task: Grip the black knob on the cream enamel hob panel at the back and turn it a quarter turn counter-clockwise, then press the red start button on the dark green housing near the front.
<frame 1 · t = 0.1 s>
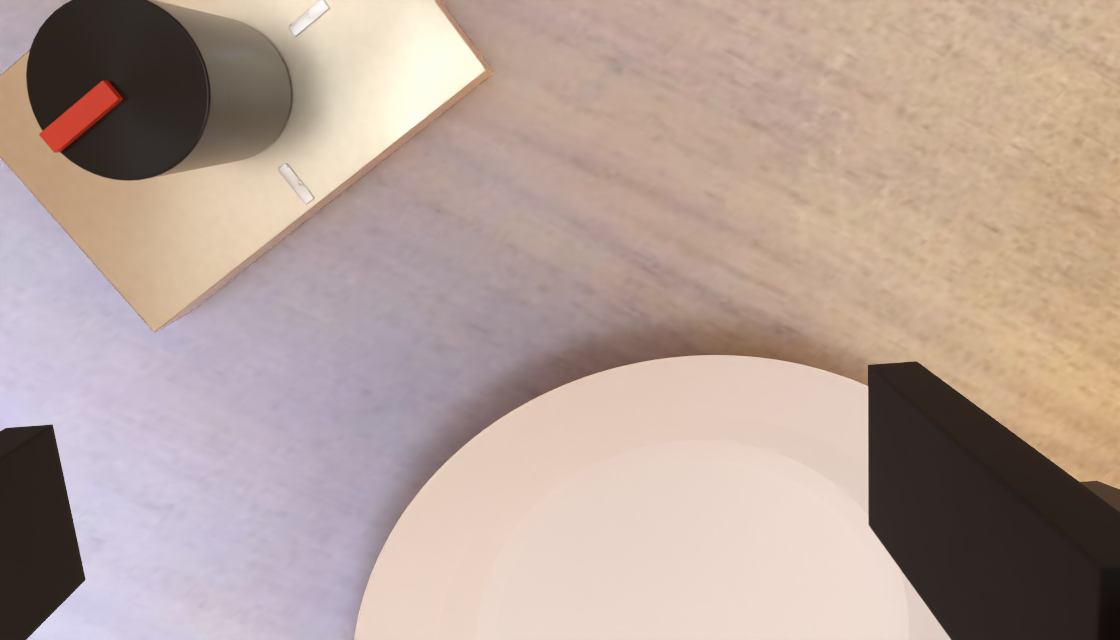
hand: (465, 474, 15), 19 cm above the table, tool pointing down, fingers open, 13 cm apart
hob knob: (174, 89, 26), point 7 cm above the table, hinge at 0.0°
white plate: (688, 634, 37), on the table
hob panel: (252, 91, 32), on the table
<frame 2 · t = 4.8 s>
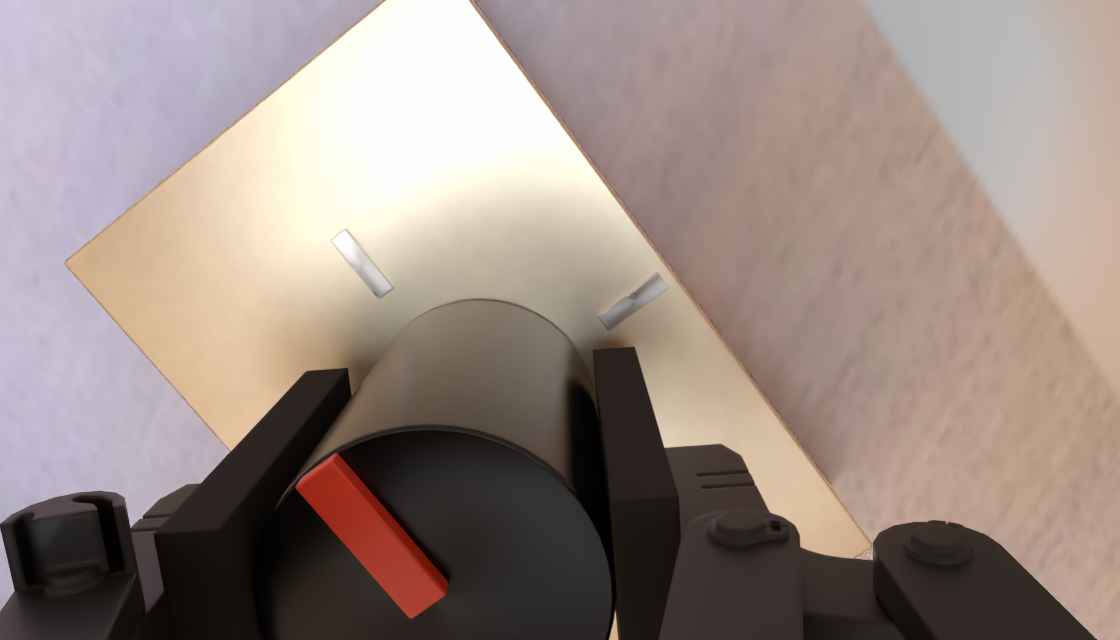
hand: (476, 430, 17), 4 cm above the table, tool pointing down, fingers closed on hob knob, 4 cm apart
hob knob: (462, 486, 15), point 7 cm above the table, hinge at 0.0°, touching gripper
hob panel: (493, 366, 21), on the table
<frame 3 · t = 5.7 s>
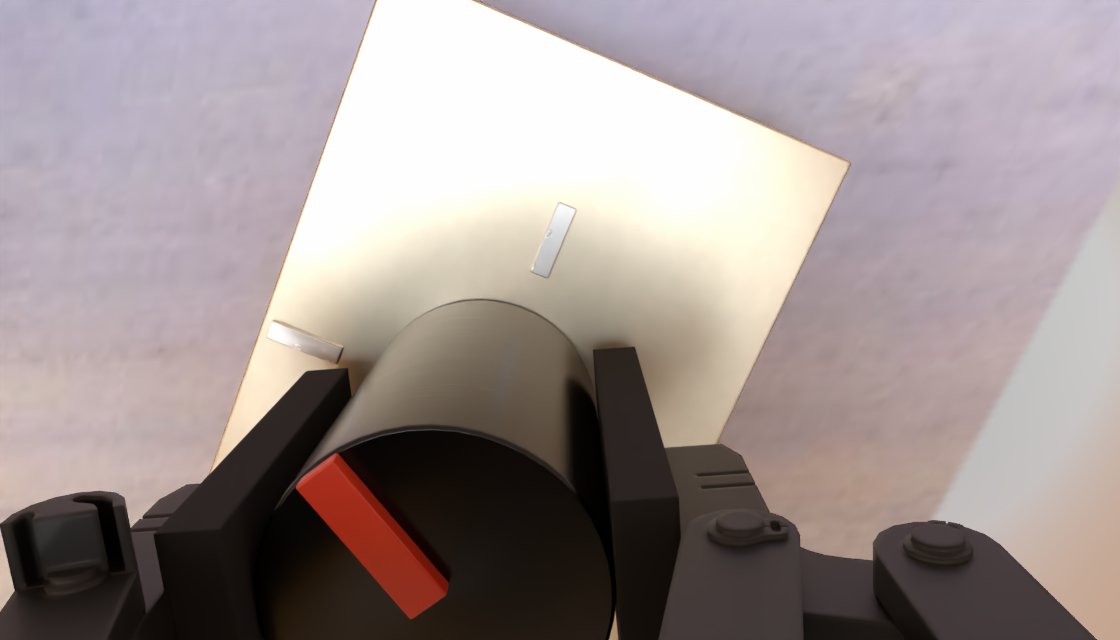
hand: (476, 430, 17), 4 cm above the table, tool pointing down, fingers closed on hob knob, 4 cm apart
hob knob: (462, 486, 15), point 7 cm above the table, hinge at 59.4°, touching gripper
hob panel: (493, 366, 21), on the table
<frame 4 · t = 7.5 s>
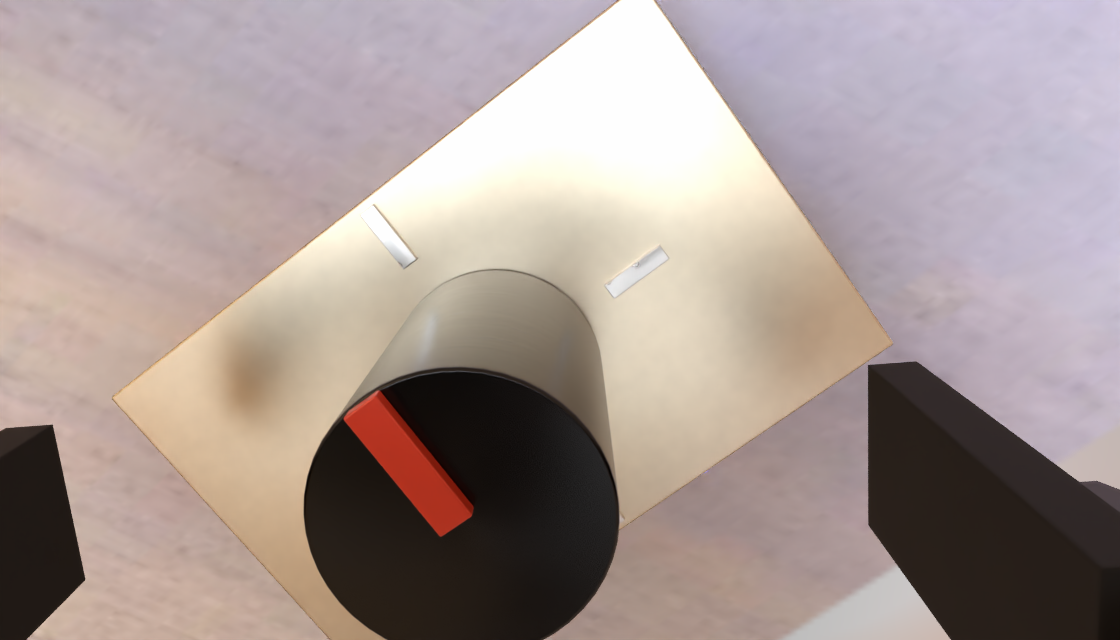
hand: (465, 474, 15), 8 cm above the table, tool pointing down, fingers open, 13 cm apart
hob knob: (482, 433, 16), point 7 cm above the table, hinge at 89.0°
hob panel: (507, 335, 23), on the table
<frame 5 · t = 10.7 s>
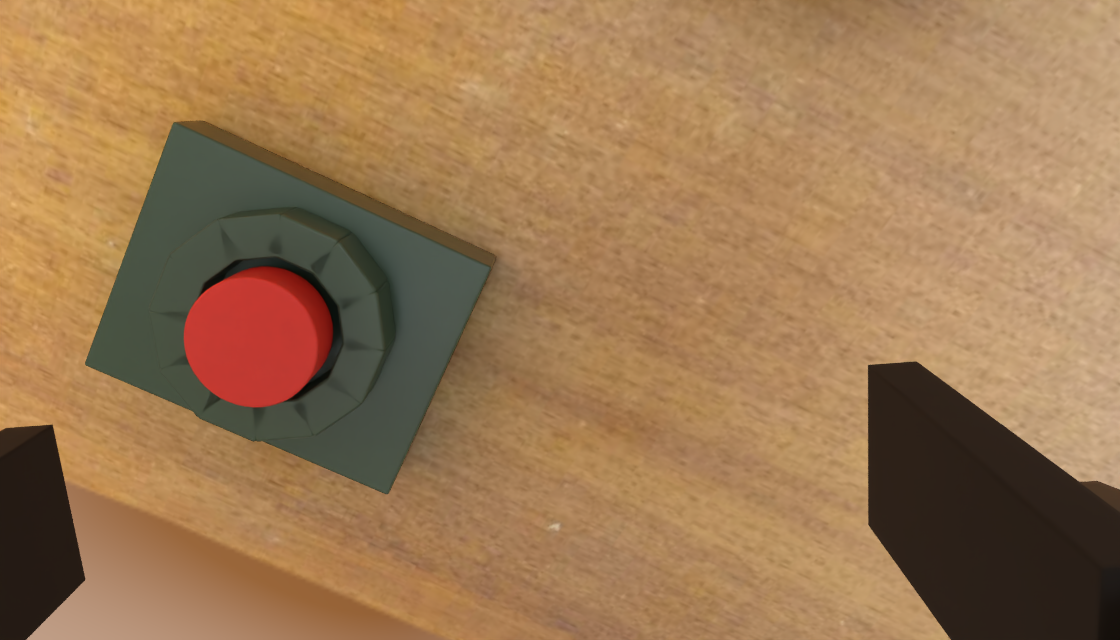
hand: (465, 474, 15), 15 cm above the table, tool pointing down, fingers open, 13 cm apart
button box: (304, 301, 30), on the table
start button: (260, 335, 26), point 5 cm above the table, slide at 0.2 cm
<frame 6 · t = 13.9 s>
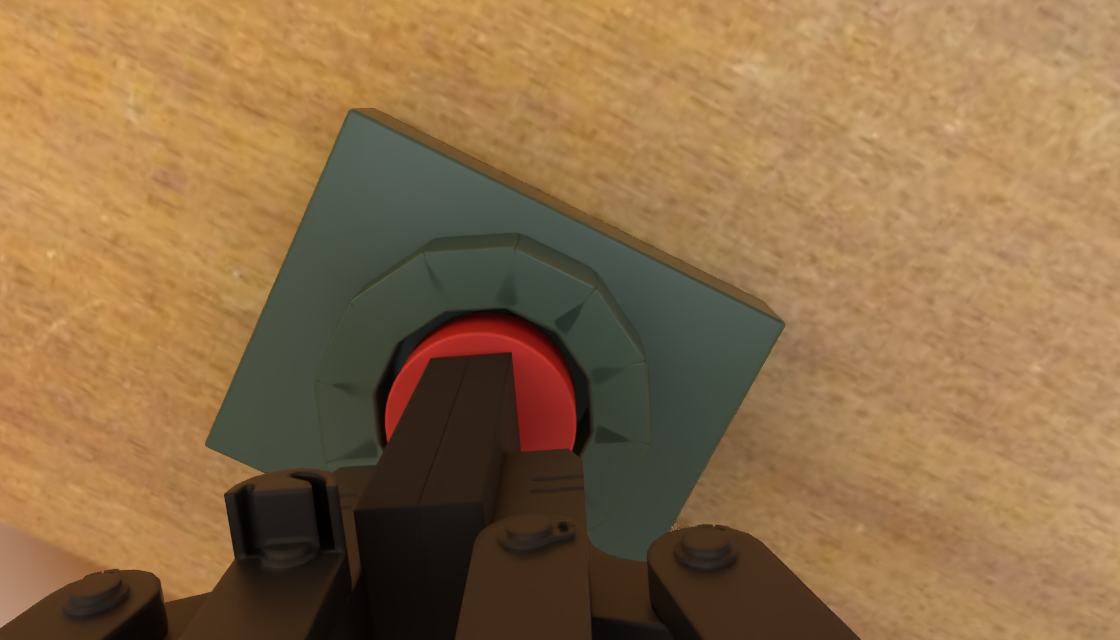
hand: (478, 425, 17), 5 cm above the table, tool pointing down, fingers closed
button box: (497, 358, 22), on the table
start button: (484, 410, 18), point 4 cm above the table, slide at -0.6 cm, touching gripper
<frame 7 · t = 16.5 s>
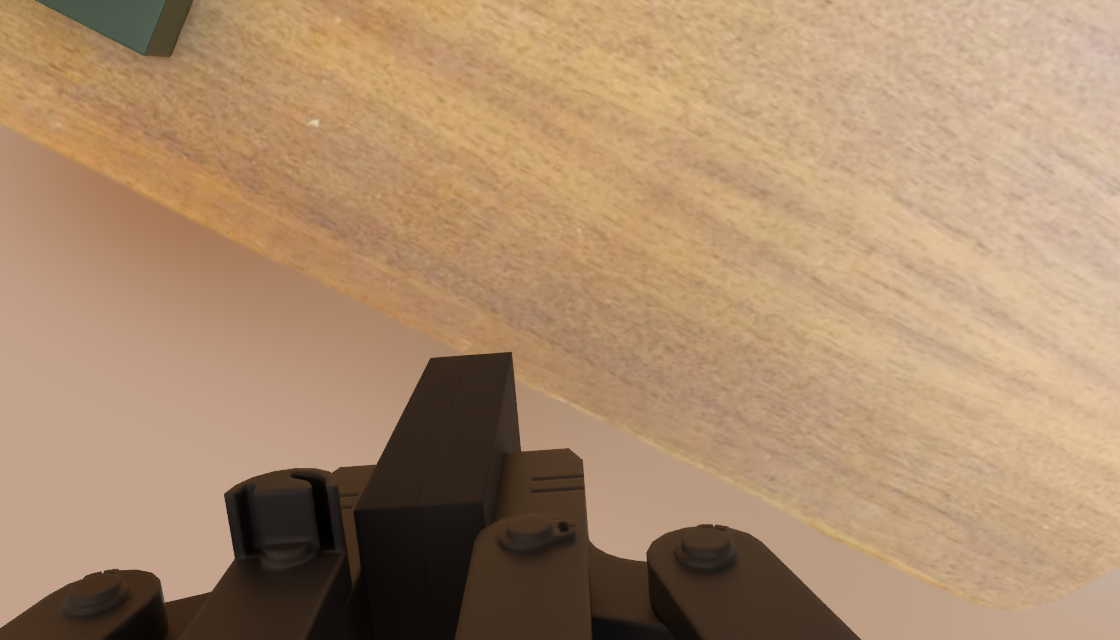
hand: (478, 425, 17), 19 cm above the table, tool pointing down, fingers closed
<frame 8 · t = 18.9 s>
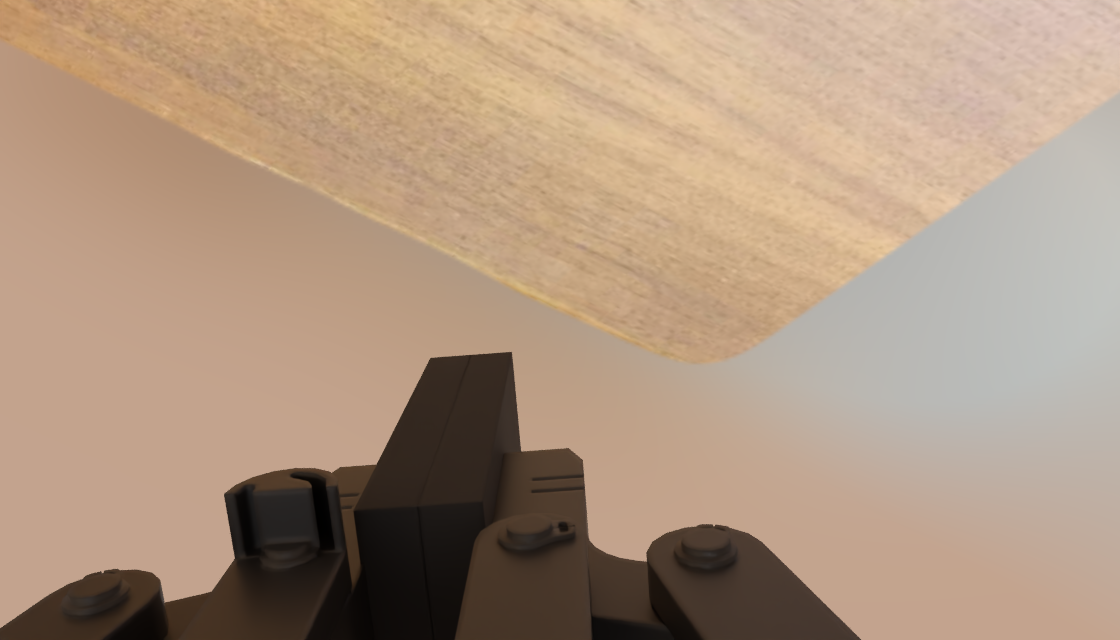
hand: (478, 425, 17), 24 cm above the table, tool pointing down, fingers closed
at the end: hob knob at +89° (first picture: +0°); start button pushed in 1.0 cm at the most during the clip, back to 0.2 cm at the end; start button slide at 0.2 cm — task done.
